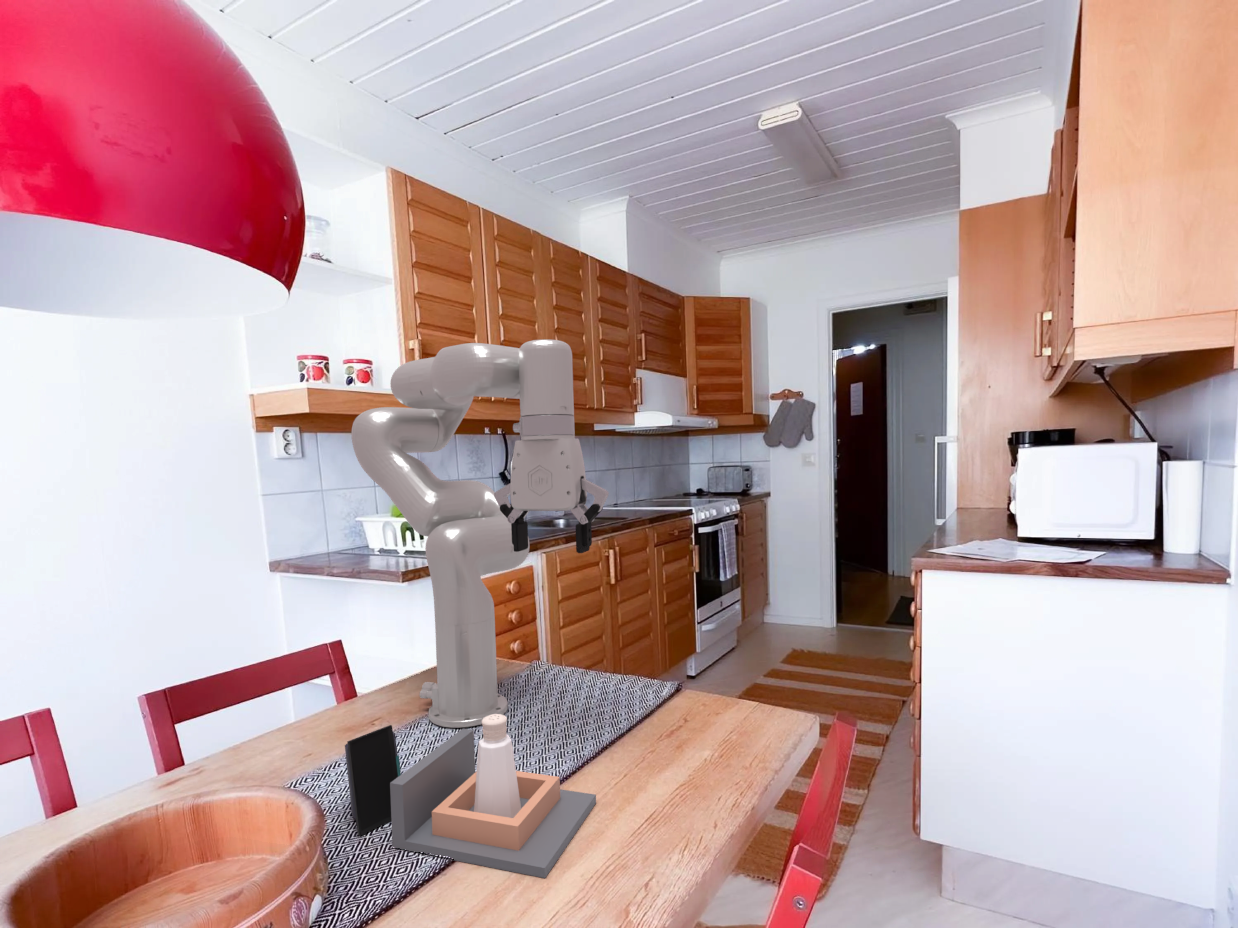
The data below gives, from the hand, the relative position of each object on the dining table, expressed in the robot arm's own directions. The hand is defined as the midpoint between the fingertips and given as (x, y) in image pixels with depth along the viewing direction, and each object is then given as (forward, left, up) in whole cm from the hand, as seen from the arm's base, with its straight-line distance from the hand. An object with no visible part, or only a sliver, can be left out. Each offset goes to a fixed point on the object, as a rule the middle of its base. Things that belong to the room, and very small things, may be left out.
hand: (551, 550), depth 89 cm
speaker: (-15, -21, -28) cm, 38 cm away
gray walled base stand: (+1, -19, -28) cm, 34 cm away
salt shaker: (+1, -19, -27) cm, 33 cm away
